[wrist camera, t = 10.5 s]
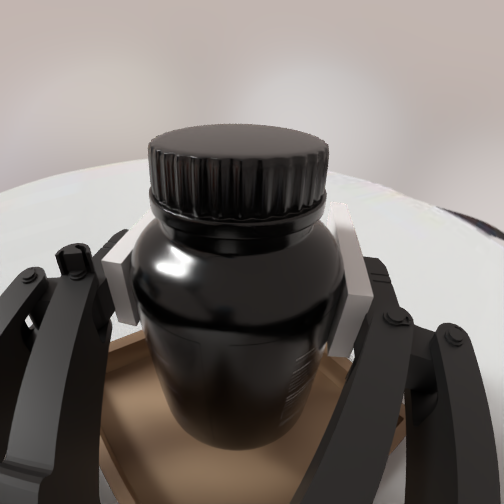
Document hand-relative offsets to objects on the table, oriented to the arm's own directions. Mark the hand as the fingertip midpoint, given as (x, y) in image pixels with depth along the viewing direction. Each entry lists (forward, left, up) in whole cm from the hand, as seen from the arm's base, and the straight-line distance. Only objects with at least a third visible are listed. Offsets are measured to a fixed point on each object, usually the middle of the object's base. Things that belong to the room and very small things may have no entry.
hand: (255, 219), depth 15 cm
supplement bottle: (+4, -4, -7) cm, 9 cm away
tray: (+3, -4, -11) cm, 12 cm away
